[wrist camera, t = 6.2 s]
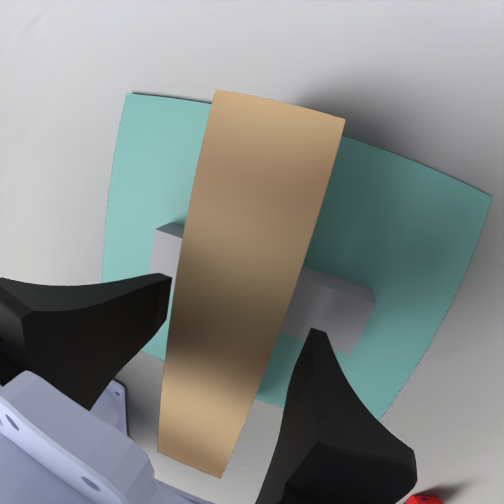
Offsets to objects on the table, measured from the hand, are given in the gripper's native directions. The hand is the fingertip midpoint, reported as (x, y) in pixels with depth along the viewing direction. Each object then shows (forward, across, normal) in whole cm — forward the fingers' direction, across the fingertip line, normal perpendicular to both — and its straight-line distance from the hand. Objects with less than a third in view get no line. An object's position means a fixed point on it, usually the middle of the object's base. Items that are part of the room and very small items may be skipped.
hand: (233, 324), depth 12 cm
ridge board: (+5, 0, 0) cm, 5 cm away
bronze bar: (+3, 0, 0) cm, 3 cm away
